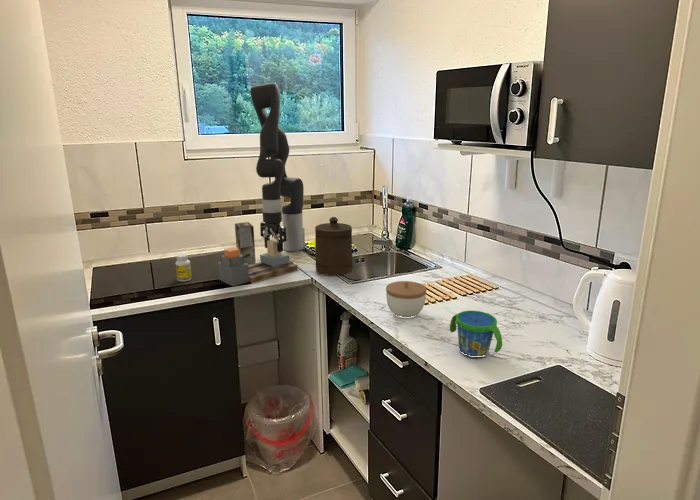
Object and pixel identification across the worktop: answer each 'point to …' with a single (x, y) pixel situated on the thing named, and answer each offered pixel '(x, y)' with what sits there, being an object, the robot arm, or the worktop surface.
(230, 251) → the button
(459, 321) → the snack cup
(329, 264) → the wooden container
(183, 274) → the supplement bottle
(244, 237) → the coffee box
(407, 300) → the lidded bowl
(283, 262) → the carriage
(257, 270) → the rail bed
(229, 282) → the cabinet
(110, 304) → the worktop surface
